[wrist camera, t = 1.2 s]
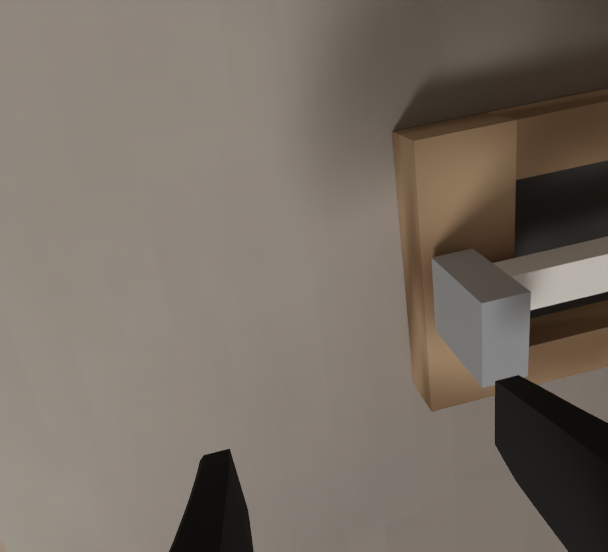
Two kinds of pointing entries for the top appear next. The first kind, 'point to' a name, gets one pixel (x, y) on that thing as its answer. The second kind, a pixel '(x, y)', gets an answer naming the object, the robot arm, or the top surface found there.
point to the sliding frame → (508, 301)
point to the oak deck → (504, 225)
